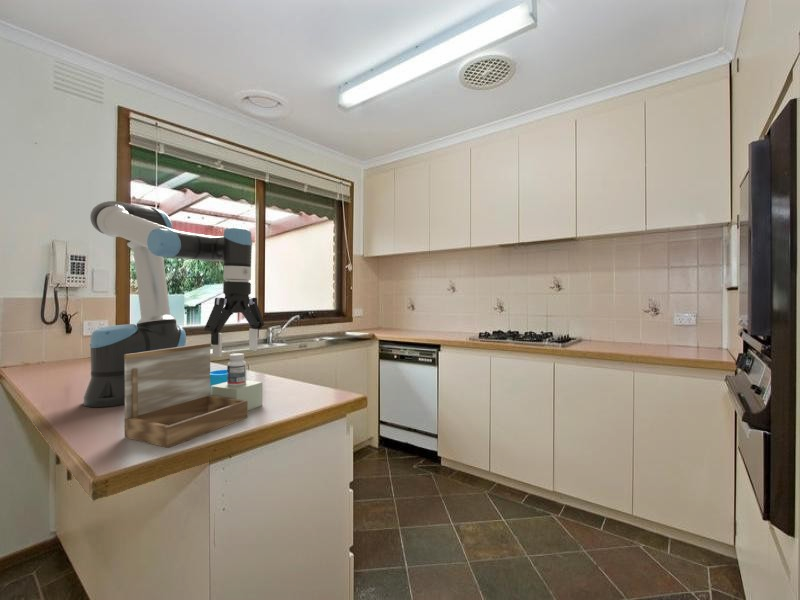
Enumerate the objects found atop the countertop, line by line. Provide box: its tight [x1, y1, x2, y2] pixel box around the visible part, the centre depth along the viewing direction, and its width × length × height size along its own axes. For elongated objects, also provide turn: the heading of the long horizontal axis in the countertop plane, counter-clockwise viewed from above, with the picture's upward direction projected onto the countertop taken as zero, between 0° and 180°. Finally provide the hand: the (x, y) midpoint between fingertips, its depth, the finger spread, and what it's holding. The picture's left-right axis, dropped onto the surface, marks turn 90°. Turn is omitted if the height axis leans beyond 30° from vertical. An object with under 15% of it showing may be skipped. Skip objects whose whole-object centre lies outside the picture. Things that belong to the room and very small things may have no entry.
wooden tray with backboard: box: [124, 342, 249, 449], centre depth 98 cm, size 15×23×20 cm, turn 157°
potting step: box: [211, 379, 263, 411], centre depth 115 cm, size 10×10×7 cm
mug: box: [210, 369, 227, 395], centre depth 128 cm, size 12×8×8 cm
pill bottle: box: [226, 352, 247, 386], centre depth 114 cm, size 5×5×9 cm
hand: (236, 352), depth 115 cm, fingers open, 13 cm apart
